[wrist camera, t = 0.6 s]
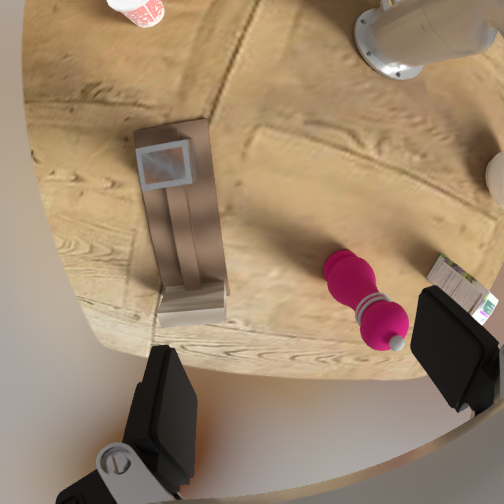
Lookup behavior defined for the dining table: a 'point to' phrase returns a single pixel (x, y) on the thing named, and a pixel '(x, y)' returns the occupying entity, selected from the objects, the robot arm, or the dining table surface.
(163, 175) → the block
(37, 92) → the dining table surface
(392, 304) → the pepper mill
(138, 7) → the beverage cup
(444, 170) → the dining table surface
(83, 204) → the dining table surface
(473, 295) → the syrup box
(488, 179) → the lidded bowl
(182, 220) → the rail
